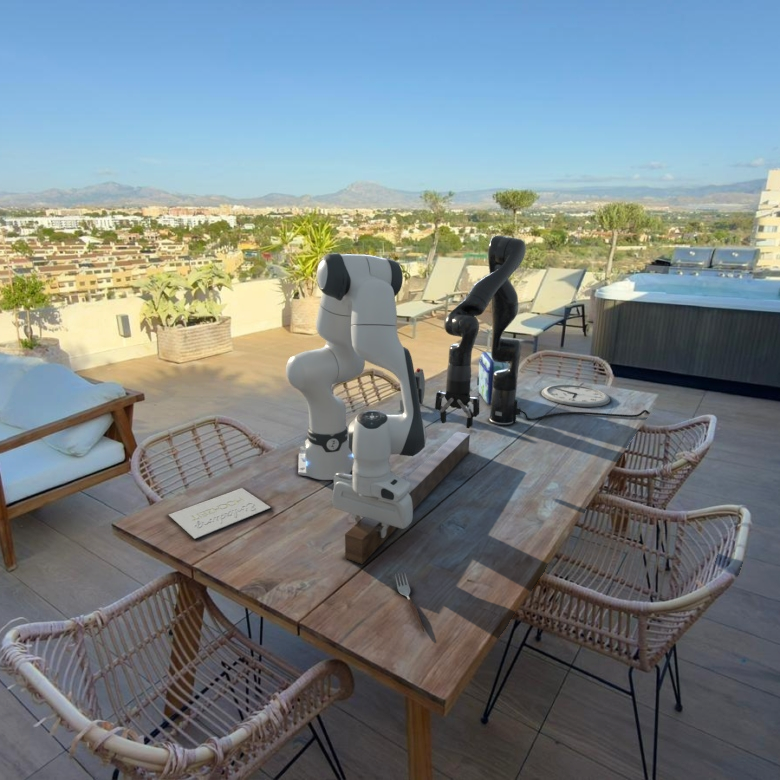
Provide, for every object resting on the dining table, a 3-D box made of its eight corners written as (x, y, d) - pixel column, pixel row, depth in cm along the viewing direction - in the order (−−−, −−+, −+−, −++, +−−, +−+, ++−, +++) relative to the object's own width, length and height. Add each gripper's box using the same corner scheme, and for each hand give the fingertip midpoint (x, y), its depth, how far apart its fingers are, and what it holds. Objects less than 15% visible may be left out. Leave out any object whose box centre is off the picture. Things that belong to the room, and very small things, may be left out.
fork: (417, 635, 98) (417, 626, 97) (393, 581, 112) (394, 573, 112) (430, 632, 98) (430, 623, 98) (405, 579, 113) (405, 571, 112)
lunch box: (475, 390, 246) (478, 346, 240) (498, 390, 246) (501, 347, 240) (484, 408, 221) (487, 360, 215) (509, 409, 221) (513, 360, 215)
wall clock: (623, 402, 226) (556, 403, 224) (623, 406, 227) (556, 407, 224) (592, 383, 255) (532, 383, 252) (591, 386, 255) (532, 386, 253)
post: (456, 448, 181) (457, 431, 179) (468, 451, 179) (469, 434, 177) (345, 558, 120) (344, 533, 118) (362, 564, 118) (362, 539, 116)
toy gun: (399, 376, 211) (420, 366, 222) (400, 413, 216) (420, 401, 228) (404, 377, 209) (424, 367, 220) (404, 414, 215) (424, 403, 226)
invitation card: (241, 487, 151) (270, 507, 140) (241, 488, 151) (270, 508, 141) (168, 514, 136) (194, 538, 126) (168, 515, 136) (194, 539, 126)
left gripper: (326, 476, 123) (327, 527, 127) (404, 497, 114) (403, 551, 118) (341, 465, 128) (341, 515, 132) (416, 485, 119) (414, 537, 123)
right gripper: (433, 376, 165) (431, 424, 169) (476, 383, 158) (473, 433, 163) (442, 371, 171) (440, 417, 176) (484, 377, 165) (480, 425, 170)
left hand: (371, 532), depth 125 cm, fingers closed on post, 4 cm apart
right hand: (455, 425), depth 169 cm, fingers open, 8 cm apart
